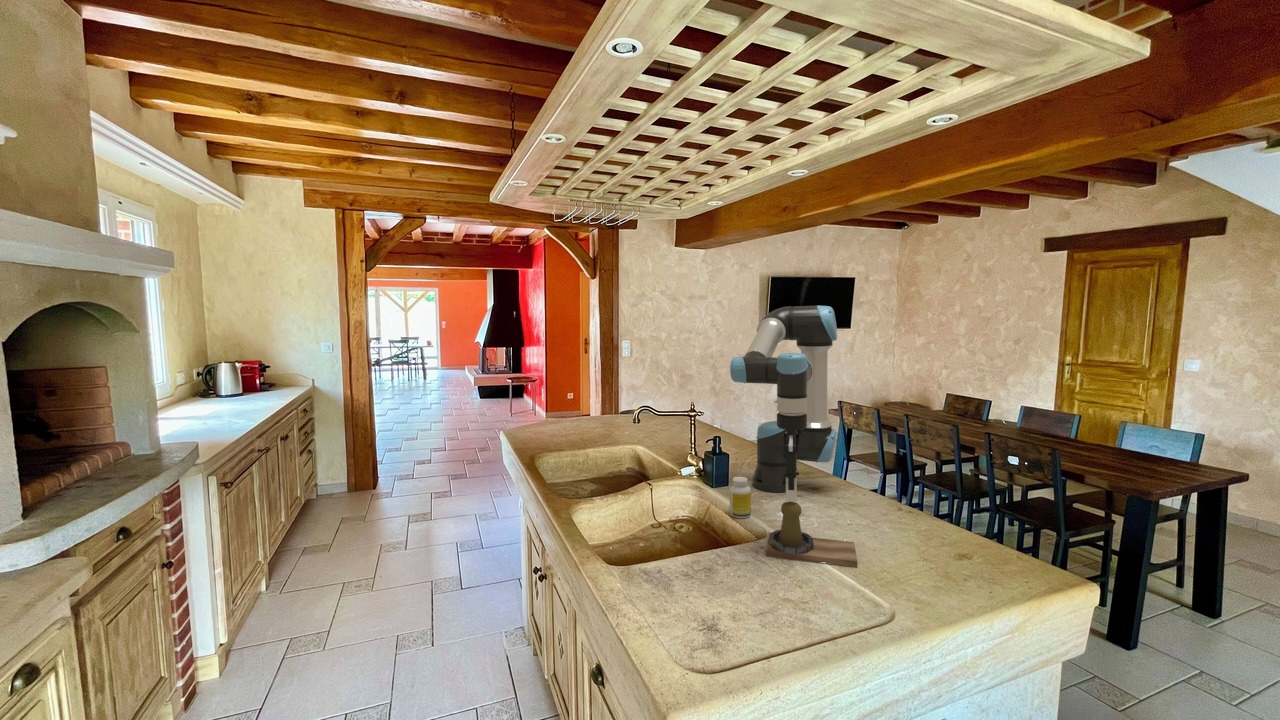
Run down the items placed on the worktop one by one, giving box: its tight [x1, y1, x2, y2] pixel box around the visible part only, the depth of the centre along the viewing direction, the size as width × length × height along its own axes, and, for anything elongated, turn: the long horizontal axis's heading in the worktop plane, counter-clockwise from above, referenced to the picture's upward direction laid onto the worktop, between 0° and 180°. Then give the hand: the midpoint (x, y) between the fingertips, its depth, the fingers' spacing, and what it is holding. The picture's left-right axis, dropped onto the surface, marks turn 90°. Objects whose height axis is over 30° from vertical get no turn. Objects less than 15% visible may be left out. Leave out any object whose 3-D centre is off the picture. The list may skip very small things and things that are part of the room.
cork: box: [779, 501, 803, 546], centre depth 138 cm, size 6×6×11 cm
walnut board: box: [765, 532, 858, 568], centre depth 137 cm, size 11×22×2 cm, turn 72°
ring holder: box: [768, 529, 814, 554], centre depth 138 cm, size 11×11×2 cm
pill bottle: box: [729, 476, 752, 519], centre depth 162 cm, size 6×6×12 cm
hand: (791, 500), depth 137 cm, fingers closed
